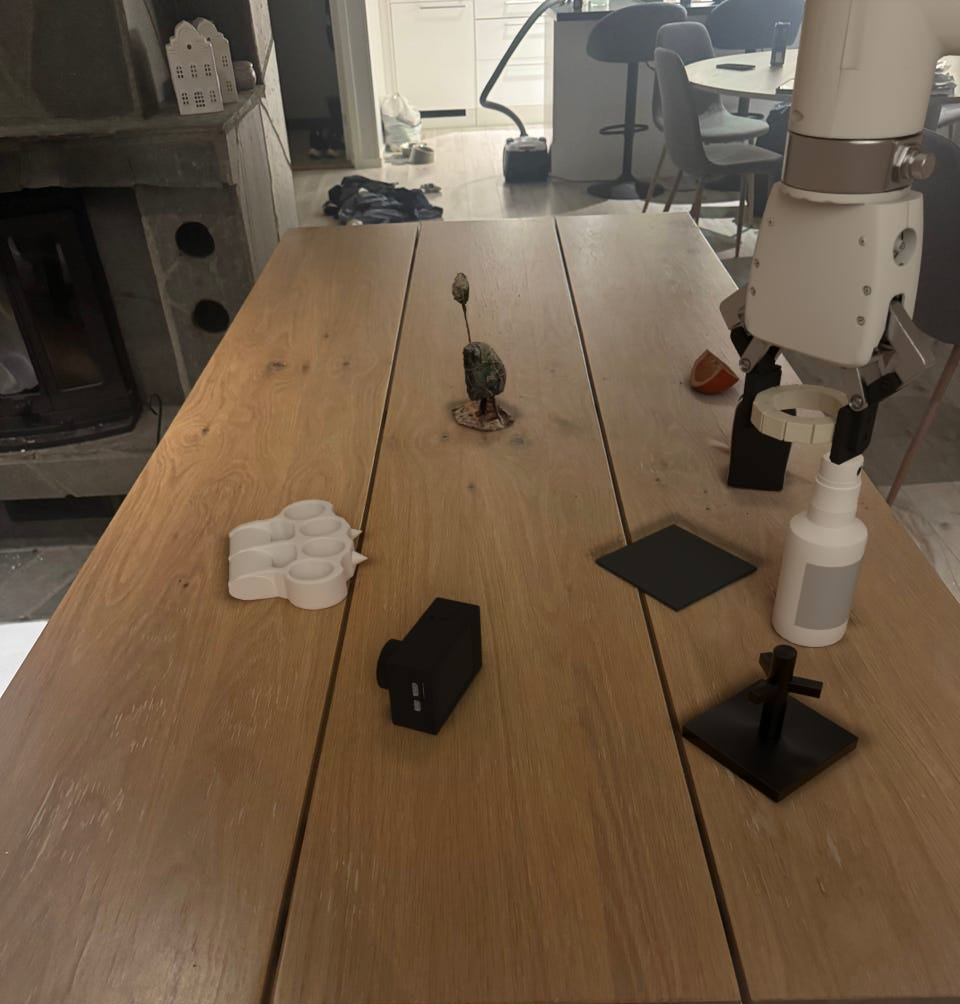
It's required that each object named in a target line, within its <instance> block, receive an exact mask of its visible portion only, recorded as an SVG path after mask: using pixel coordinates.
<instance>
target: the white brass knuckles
mask: <svg viewBox="0 0 960 1004" xmlns="http://www.w3.org/2000/svg"><path fill="white" fill-rule="evenodd" d="M334 506H335V505H334V504H332V502H329V501H327V500H323V499H314V498H313V499H302V500H297V501H294V502H292V503H290V504H288V505H286V506H285V507H284V508H282V510H281V511H280V513H279V514H277V515H275V516H273V517H271V518H266V519H265V518H264V519H258V520H252V521H248V522H245V523H242V524H239V525H238V526H236V527H234V528H232V529H231V531H229V532H228V537H229V555H228V563H229V564H228V565H229V569H228V582H227V587H228V592H229V595H230V596H231V597H233V598H235V599H238V600H242V601H243V600H244V601H254V600H266V599H275V598H280V599H285V600H288V601H289V602H290V603H291V604H292V605H293V606H295V607H297V608H299V609H303V610H309V611H315V610H316V611H317V610H325V609H328V608H331V607H333V606H336V605H338V604H339V603H341V602H342V601H343V600H345V599H346V597H347V596H348V586H347V582H348V581H349V580H350V579H351V578H353V577H354V576H355V572H356V569H357V565H358V564H360V563H362V562H364V561H366V560H368V559H369V557H367V556H365V555H363V554H361V553H359V552H358V551H356V549H355V542H354V540H355V539H356V538H357V537H358V536H359V535H360V534H361V533H362V532H363V530H361V529H356V528H352V527H351V525H350V524H349V523H348V521H347V520H346V519H345V517H341V516H339V515H337V514H336V513H335V507H334Z"/></svg>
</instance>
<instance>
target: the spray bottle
mask: <svg viewBox="0 0 960 1004" xmlns="http://www.w3.org/2000/svg"><path fill="white" fill-rule="evenodd" d="M829 456H830V451H828V452H826V453H824V454H823V455H822V456H821V458H820V463H819V469H818V470H817V473H816V474H815V475H814V480H813V485H812V491H811V495H810V497H809V501H808V506H807V509H805V510H802V511H800V512H798V513H796V514H795V515H793V516H792V518H791V519H790V520H789V522H788V525H787V531H786V538H785V543H784V548H783V549H784V550H783V555H782V560H781V566H780V571H779V576H778V582H777V588H776V593H775V599H774V603H773V611H772V616H771V624H772V627H773V629H774V631H775V632H776V633H777V634H778V635H779V636H780V637H781V638H782V639H783V640H786V641H788V642H790V643H792V644H796V645H798V646H802V647H810V648H821V647H822V648H823V647H824V648H825V647H828V646H831V645H835V644H836V643H838V642H839V641H840V640H842V638H843V637H844V635H845V634H846V631H847V627H848V623H849V619H850V615H851V611H852V605H853V602H854V597H855V593H856V589H857V584H858V581H859V577H860V572H861V568H862V564H863V559H864V554H865V551H866V547H867V543H868V538H869V534H868V527H867V526H866V525H865V523H864V522H863V521H862V520H861V519H860V518H858V517H857V511H858V508H859V507H858V506H859V505H858V504H859V503H858V502H859V497H860V494H861V490H862V489H861V488H862V483H863V481H862V470H863V466H864V462H865V458H864V456H863V453H862V454H861V455H859V456H857V457H855V458H853V459H851V460H848V461H846V462H844V463H842V464H840V465H837V464H834V463H832V462H831V460H830V459H829Z"/></svg>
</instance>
